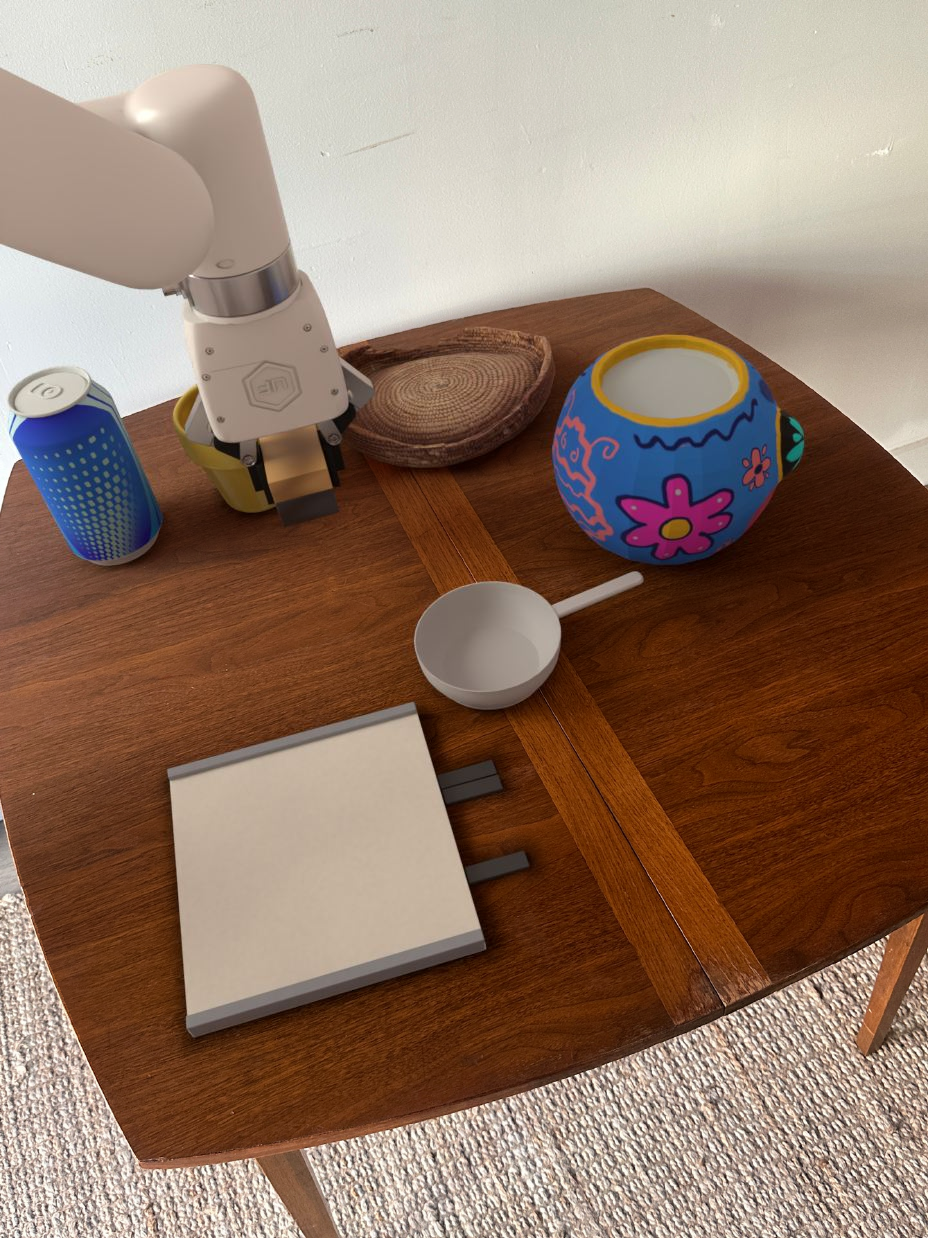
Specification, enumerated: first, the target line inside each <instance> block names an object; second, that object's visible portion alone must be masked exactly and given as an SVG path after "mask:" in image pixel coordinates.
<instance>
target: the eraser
mask: <svg viewBox="0 0 928 1238" xmlns="http://www.w3.org/2000/svg"><path fill="white" fill-rule="evenodd" d="M317 430H318V429H317V425H316V424H314V425H311V426H307V427H303V428H299V429H295V430H291V431H287V432H283V433H279V434H275V435H270V436H266V437H262V438H259V441H260V446H261V451H262V456H263V461H264V465H265V470H266V475H267V480H268V484H269V487H270V490H271V493H272V496H273V499H274V502H275V505H276V506H275V508H276V510H277V513H278V516H279V519H280V522H281V524H282V527H283V528H287V527H291V526H295V525H299V524H302V523H306V522H309V521H313V520H318V519H322V518H324V517H329V516H331V515H336V514H339V513H340V508H339V503H338V500H337V497H336V494H335V490H334V487H333V486H332V483H331V479H330V475H329V472H328V468H327V465H326V461H325V458H324V454H323V451H322V447H321V443H320V440H319V436H318V433H317Z"/></svg>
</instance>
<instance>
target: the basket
mask: <svg viewBox="0 0 928 1238" xmlns="http://www.w3.org/2000/svg"><path fill="white" fill-rule="evenodd" d="M338 356H339V357H340V358H342V359H343V360H344V361H346V362H347V363H348V364H350V365H351V366H352V367H354V368H355V369H356V370H358V371H359V372H360V373H362V374H363V375H364V376H366V377H367V378H368V379H370V380H371V381H372V384H373V387H374V389H375V395H374V397H373V398H372V399H371V400H370V401H369V402H368V403H367V404H366V405H365V406H364V407H363V408H362V409H361V410H360V409H359V410H358V411H357V412H356V416H355V418H354V419H353V421H352V422H351V423H350V425H349V426H348V427H347V429H346V430H345V431H344V433H343V434H342V441H343V442H344V443H346V445H348V446H349V447H351V448H352V449H354V450H355V451H357V452H359V453H361V454H363V455H364V456H365V457H368V458H370V459H372V460H375V461H378V462H381V463H384V464H388V465H392V466H396V467H397V466H398V467H403V468H414V469H415V468H417V469H419V468H426V469H427V468H443V467H446V466H452V465H456V464H460V463H464V462H466V461H469V460H472V459H474V458H477V457H480V456H483V455H485V454H488V453H489V452H491V451H493V450H496V449H497V448H499V447H500V446H502V445H503V444H505V443H507V442H509V441H511V440H513V439H514V438H515V437H517V436H518V435H519V434H520V433H521V432H523V431H524V430H525V429H526V428H527V427H528V426H529V425H530V424H531V423H532V422H533V421H534V420H535V419H536V417H537V416H538V415H539V414H540V413H541V411H542V410H543V407H544V406H545V403H546V402H547V400H548V398H549V396H550V394H551V392H552V387H553V384H554V378H555V375H556V367H555V361H554V355H553V351H552V347H551V343H550V341H549V340H548V339H547V338H546V336H545V335H539V334H535V335H532V334H531V333H526V332H524V331H521V330H509V329H505V328H498V327H489V326H472V327H463V330H462V332H456V334H455V335H454V337H448V338H447V337H444V338H443V337H442V338H440V339H439V340H438V343H427V344H422V345H418V346H414V347H406V348H405V347H404V348H403V347H402V348H398V347H397V348H394V347H390V348H386V349H376V348H373V347H372V345H362V346H357V347H354V348H352V349H347V350H345V351H343V352H342V353H341V354H338ZM348 390H349V389H347V391H348Z"/></svg>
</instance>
